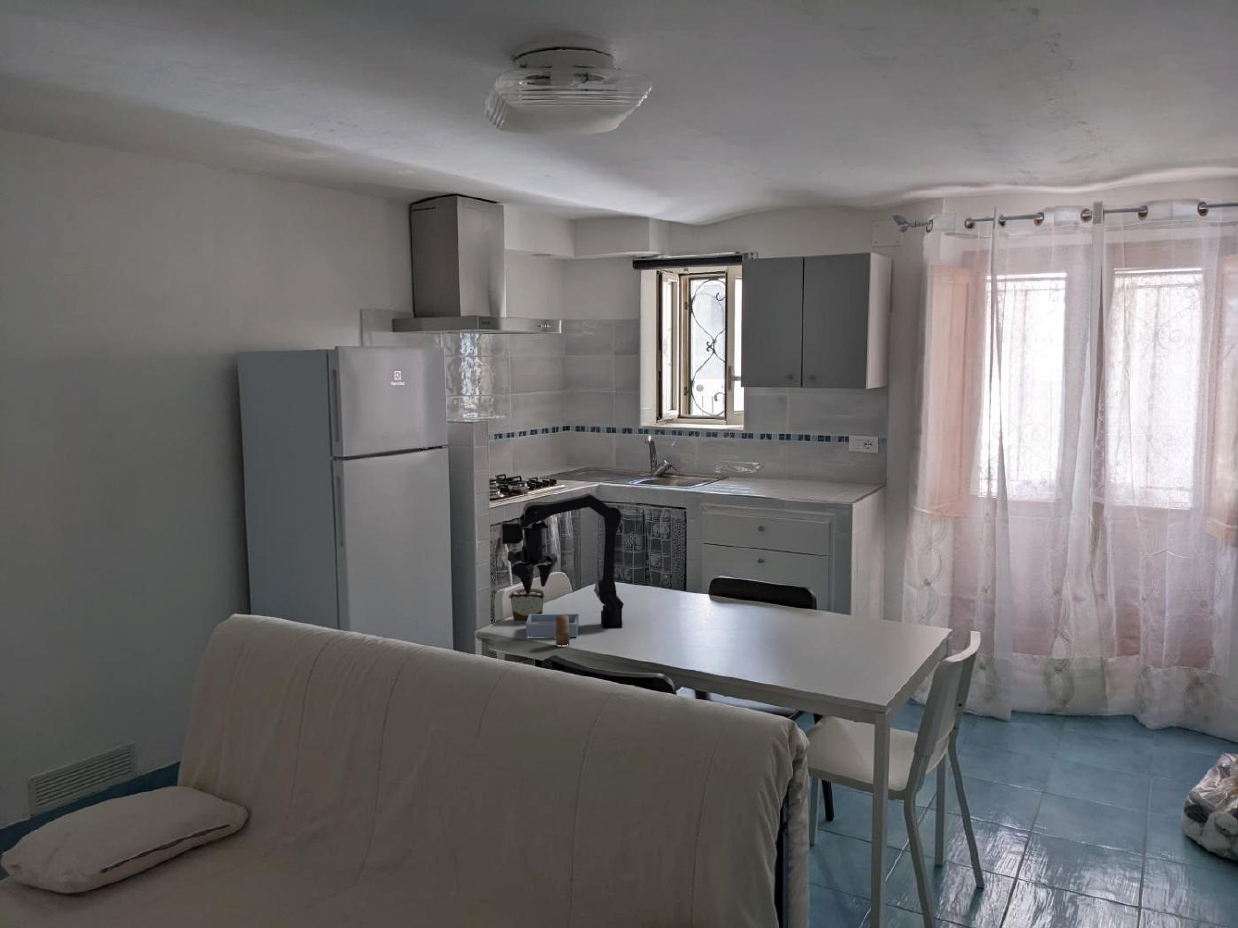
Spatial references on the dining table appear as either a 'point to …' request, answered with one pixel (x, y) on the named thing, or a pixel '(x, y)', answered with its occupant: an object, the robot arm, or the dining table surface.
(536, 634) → the box
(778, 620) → the dining table surface
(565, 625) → the peg
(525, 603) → the food container
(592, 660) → the dining table surface
